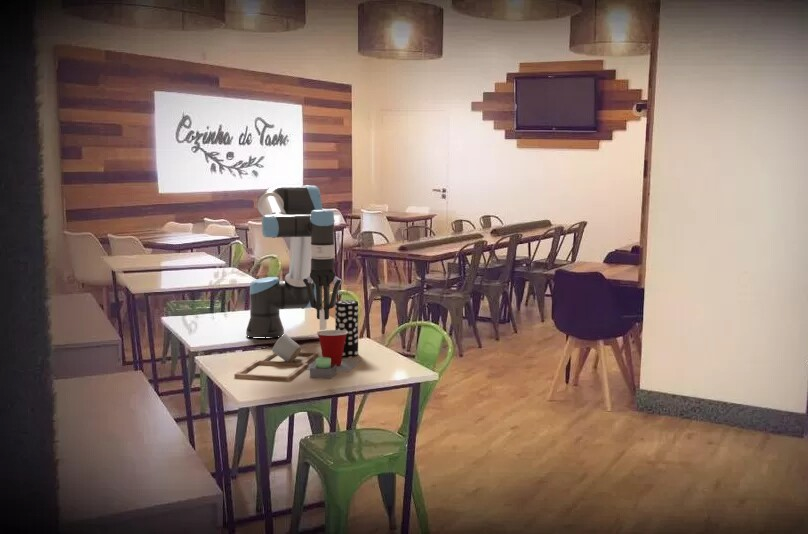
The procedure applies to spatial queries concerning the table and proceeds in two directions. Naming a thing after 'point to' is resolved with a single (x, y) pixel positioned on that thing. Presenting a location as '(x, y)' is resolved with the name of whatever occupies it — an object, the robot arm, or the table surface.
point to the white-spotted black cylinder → (348, 325)
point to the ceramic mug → (286, 348)
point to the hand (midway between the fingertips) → (323, 328)
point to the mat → (344, 367)
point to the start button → (323, 362)
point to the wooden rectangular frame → (266, 361)
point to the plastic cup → (332, 344)
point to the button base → (323, 372)
